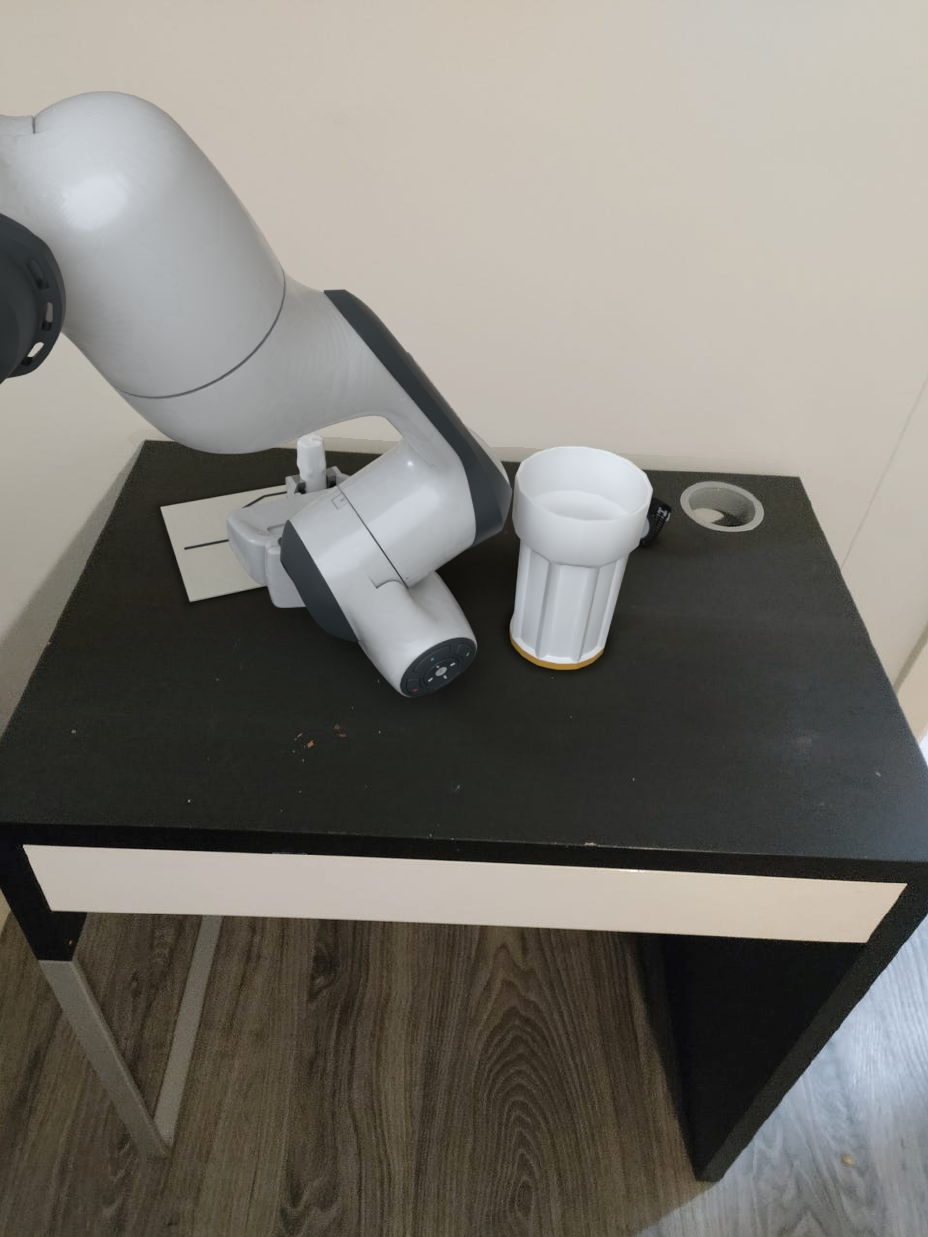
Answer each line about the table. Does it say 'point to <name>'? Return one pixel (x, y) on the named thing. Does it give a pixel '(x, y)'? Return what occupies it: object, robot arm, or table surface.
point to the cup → (573, 550)
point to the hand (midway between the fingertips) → (310, 477)
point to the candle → (312, 462)
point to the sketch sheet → (211, 542)
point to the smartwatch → (651, 523)
